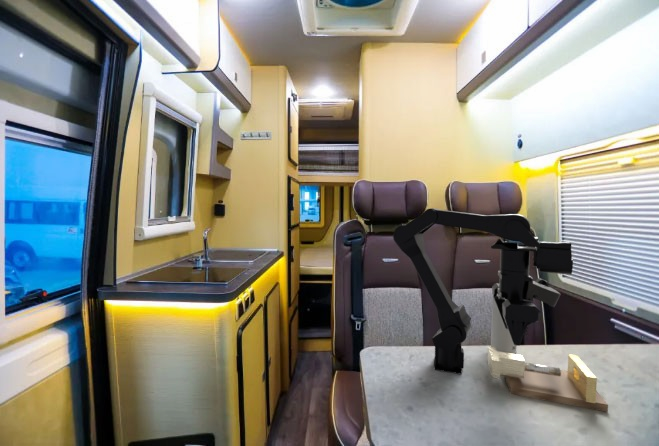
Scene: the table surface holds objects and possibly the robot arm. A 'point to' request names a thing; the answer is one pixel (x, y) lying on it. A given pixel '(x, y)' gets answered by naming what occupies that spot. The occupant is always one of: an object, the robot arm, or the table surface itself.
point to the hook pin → (515, 365)
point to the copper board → (552, 389)
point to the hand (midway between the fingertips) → (512, 336)
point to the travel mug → (500, 333)
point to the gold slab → (582, 378)
